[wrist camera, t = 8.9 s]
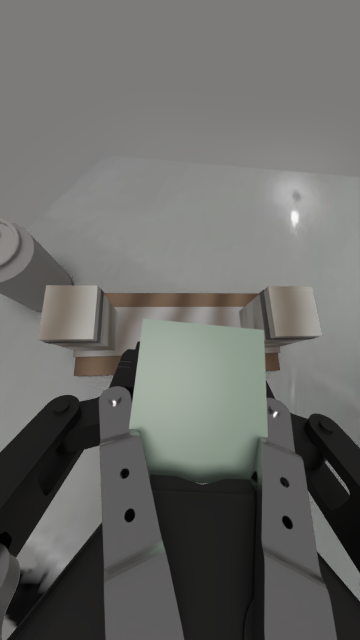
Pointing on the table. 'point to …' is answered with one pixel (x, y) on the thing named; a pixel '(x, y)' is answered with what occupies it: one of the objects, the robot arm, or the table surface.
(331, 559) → the table surface
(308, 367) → the table surface
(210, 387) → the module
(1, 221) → the can
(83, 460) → the table surface
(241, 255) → the table surface
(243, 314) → the wooden block stand
